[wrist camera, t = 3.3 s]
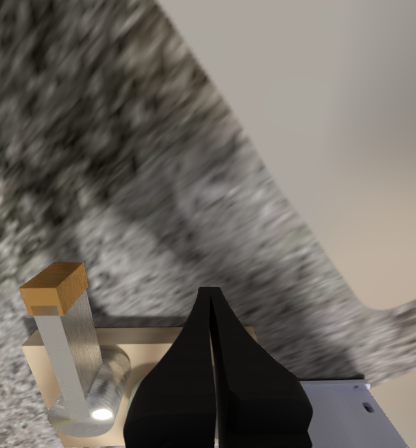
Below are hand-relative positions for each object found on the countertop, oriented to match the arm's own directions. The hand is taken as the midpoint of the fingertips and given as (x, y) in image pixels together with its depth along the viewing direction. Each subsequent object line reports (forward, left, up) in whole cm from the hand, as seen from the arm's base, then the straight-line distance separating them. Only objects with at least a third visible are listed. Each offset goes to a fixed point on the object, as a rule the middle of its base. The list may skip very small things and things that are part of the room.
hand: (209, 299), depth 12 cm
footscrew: (+8, +3, -1) cm, 9 cm away
